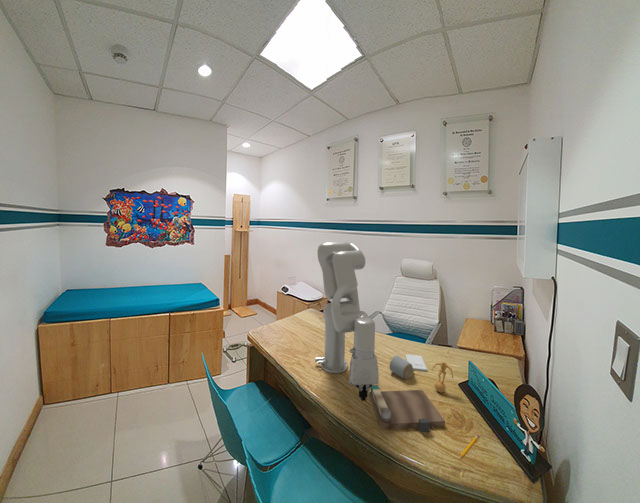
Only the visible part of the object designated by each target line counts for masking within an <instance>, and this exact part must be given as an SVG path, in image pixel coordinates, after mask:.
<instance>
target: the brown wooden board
mask: <svg viewBox="0 0 640 503" xmlns="http://www.w3.org/2000/svg"><path fill="white" fill-rule="evenodd" d="M380 392H381V394H382V396H383V399H384V401H385V403H386V405H387V407H388V409H390V411H391V421H390V422H384V421H382V419H381V415H380V412H379V410H378V408H377V405H376V403H375V400H374V398H373V395H372V394H371V391H369V392H368V398H369V400H370V402H371V406H372V408H373V411H374V413H375V416H376V419H377V421H378V423H379V426H380V430H404V429H418V424H419V419H428V420H429V422H430V427H429V428H437V427H438V428H440V427H446V426H445V425H446V420H445V419H444V417H443V416H442V415H441V413H440V412H439V411H438V409H437V408H436V406H435V405H434V404H433V402H432V401H431V400H430V398H429V397H428V395H427V394H426V393H425V392H424V390H423V389H411V390H410V389H409V390H389V391H388V390H385V391H382V390H380Z"/></svg>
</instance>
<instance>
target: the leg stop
mask: <svg viewBox="0 0 640 503" xmlns="http://www.w3.org/2000/svg"><path fill="white" fill-rule="evenodd" d="M430 428H431V427H430V422H429V420H428V419H419V424H418V428H417V429H418V430H419V433H429V432H430Z"/></svg>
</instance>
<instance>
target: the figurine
mask: <svg viewBox="0 0 640 503" xmlns="http://www.w3.org/2000/svg"><path fill="white" fill-rule="evenodd" d="M436 366H440V369H439V370H438V375H437V376H438V381H436V382H435V385H434V388H435V390H436V391H437V392H438V393H445V391H446V385H445V383H444V382H445V377H446V376H447V372H446V369H448V370H450V372H451V373H450V374H451V378H454V375H453V374H454V373H453V369H452V368H451V367H450V366H449V365H448V364H447V362H444V361H442V362H438V363H435V364H434V365H433V366H432V368H431V371H433V370H434V369H435V368H436ZM441 375H442V381H441Z"/></svg>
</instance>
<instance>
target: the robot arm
mask: <svg viewBox="0 0 640 503" xmlns="http://www.w3.org/2000/svg"><path fill="white" fill-rule="evenodd" d="M317 259H318V263H319V266H320V268H321V272H322V281H323V290H324V295H325V297H326V299H328V300H331V302H329V303H326V304H325V305H324V307H323V310H322V311H323V318H324V319H323V320H324V354H323V356H321V357H319V356H317V357H314V358H315V359H314V360H315V363H317V364H318V365H321V368H322V369H323V370H324V372H326V373H330V374H341V373H344V372H345V371H347V369H348V362H347V361H346V360H345V356H346V355H345V350H346V347H345V346H346V333H352V332H353V347H352V348H349V353H350V354H351V357H350V361H349V362H350V364H349V371H348V372H349V380H348V384H349V386H353V387H354V386H355V387H356V388H357V389H358V397H359V398H360V400H361V402H367V398H369V392H368V391H369V390H370V389H371V386H372V385H378V383H379V378H380V377H379V365H378V364H379V363H378V357H377V355H376V353H375V349H376V348H375V347H376V346H375V341H376V340H375V339H376V322H375V320H374V319H373V318H370V316H369V315H368V313H367V312H365V311H363V310H361V308H360V300H359V292H358V285H359V283H358V280H357V275H356V271H357V270H363V269H364V268H365V267H366V257H365V255H364V253H363V251H362V250H361V249H360V248H359V247H357V246H356V244H354V243H352V242H348V241H340V242H339V241H337V242H336V241H334V242H332V241H331V242H323V243H321V244H319V245H318V248H317ZM342 299H346V300H342Z"/></svg>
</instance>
